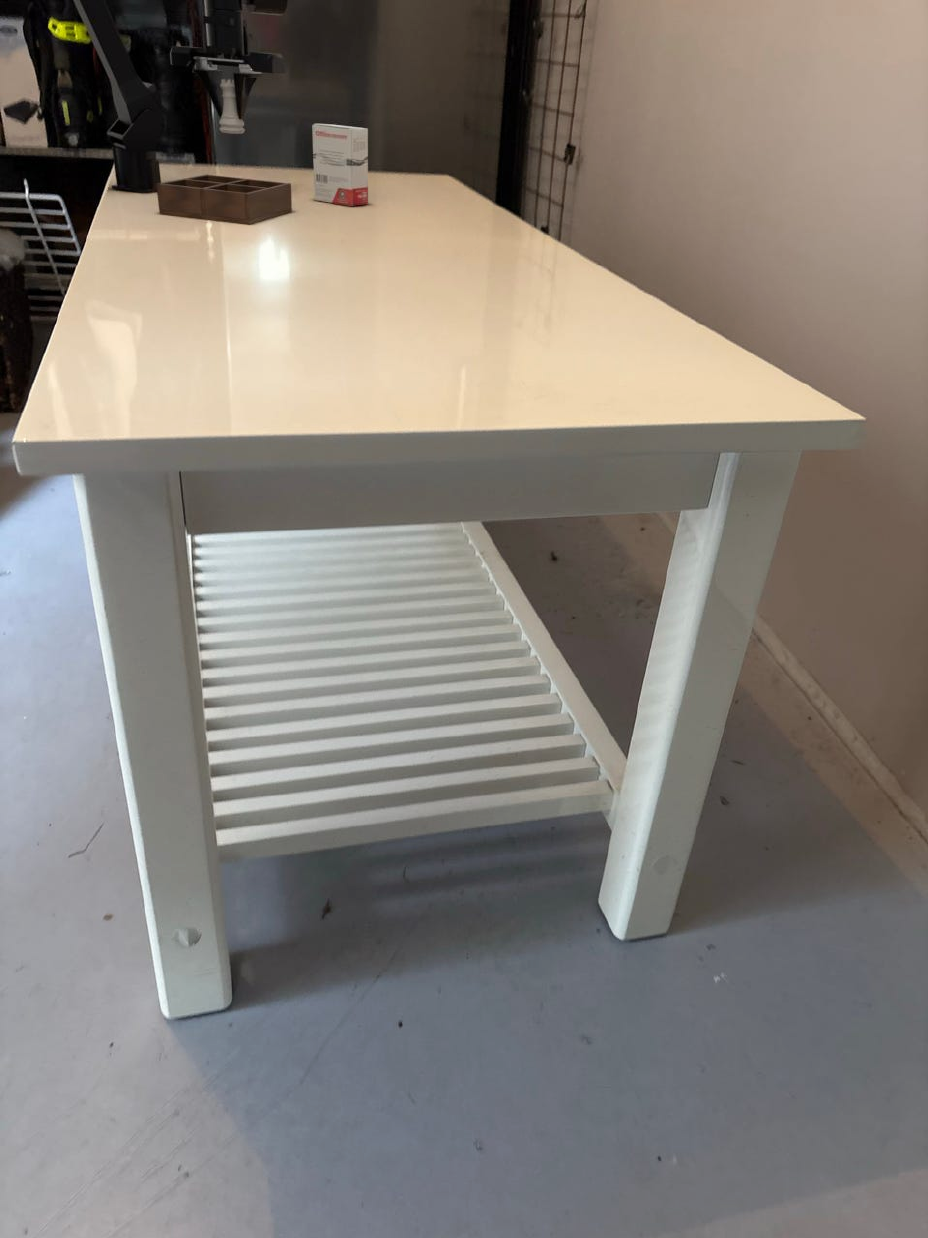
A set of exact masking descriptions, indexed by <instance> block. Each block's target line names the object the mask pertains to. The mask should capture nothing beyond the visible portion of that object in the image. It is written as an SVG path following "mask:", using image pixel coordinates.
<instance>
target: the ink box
mask: <svg viewBox="0 0 928 1238" xmlns="http://www.w3.org/2000/svg"><path fill="white" fill-rule="evenodd" d="M311 129H312V131H311V132H312V154H313V155H312V160H313V189H314V194H313V195H314V201H315V202H316V201H317V202H323V203H329V204H335V205H341V206H347V207H353V206H361V205H362V206H363V205H368V204H369V128H367V127H365V128H364V127H358V126H349V125H342V124H341V125H339V124H329V123H313V124H312V125H311Z"/></svg>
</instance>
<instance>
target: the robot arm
mask: <svg viewBox="0 0 928 1238" xmlns="http://www.w3.org/2000/svg"><path fill="white" fill-rule="evenodd" d="M288 1H289V0H205V3H206V4H205V6H206V15H204V16H202V17H203V24H207V32H208V33H207V34H208V45H205V48H204V47H195V46H182V45H181V46H180V45H173V46H172V47H171V50H170V52H169V59H170V65H171V66H179V67H180V66H181V67H189V66H192V67H194V68H192V73H193V74H197V75H198V77H199V79H200V81H201V83H202V85H203V86H204V88H205V90H206V92H207V93H208V96H209V98H210V100H211V102H212V105H213V106H214V109H215V112H216V113H217V115H218V117H219V118H222V117H221V116H222V114H223V97H222V95H223V90H222V89H221V87H220V84H221V83H222V80H221V79H223V76H224V72H225V71H224V70H223V69H218V66H223V67H237V68H238V69H239V72H232V73H233V74H232V75H233V80H234V86H235V95H236V105H237V112H238V117H239V119H242V120H244V119H245V116H246V115H245V114H246V111H247V107H248V104H249V100H250V96H251V91H252V90H253V87H254V85H255V83H256V82H257V81H258V79H259V78H264V74H286V61H285V59H284V56H283V55H282V54H281V53H273V52H261V51H260V50H261V42H260V41H259V40H258V39H257V38H256V37H255V36H254V34H252V33H250V32H249V30H248V22H247V19H246V18H245V19H243V17H244V16H243V6H245V8H246V11H247V12H249V13H251V14H262V15H272V16H273V15H274V16H283V15H284V14H285V13H286V11H287V8H288ZM73 3H74V5H75V7H76V9H77V12H78V14H79V16H80V18H81V20H82V23H83V24H84V26H85V29H86V31H87V33H88V35H89V38H90V40H91V41H92V43H93V45H94V49H95V51H96V52H97V55H98V57H99V59H100V61H101V63H102V66H103V68H104V69H105V72H106V74H107V76H108V78H109V82H110V86H111V93H112V97H113V99H112V100H113V104H114V108H115V110H116V114H117V116H118V118H117V119H116V120H115V121H114V123H113V124H112V125H111V127H110V128H108V130H107V131H106V135H107V137H108V140H109V142H110V143H111V146H112V147H111V150H112V151H111V152H112V156H113V157H112V159H113V165H114V174H115V181H116V184H112V185H111V189H112V190H122V191H132V192H140V193H148V192H154V191H157V186H156V184H158V183H162V179H161V168H160V161H159V159H157V147H158V143H159V139H160V138H161V137H162V135H163V134H164V133H165V130H166V127H167V119H166V114H165V113H167V112H168V110H167V108H166V107H165V106H164V105H163V103H162V102H161V99H160V96H159V95H160V94H159V91H158V89H157V87H156V85H155V84H154V83H149V82H144V81H143V80H142V79H141V78H140V76H139V75H138V73H137V72H136V69H135V67H134V65H133V62H132V60H131V58H130V55H129V53H128V51H127V49H126V46H125V44H124V42H123V40H122V37H121V35H120V33H119V30H118V28H117V26H116V24H115V22H114V20H113V16H112V15H111V12H110V10H109V8H108V5H107V3H106V1H105V0H73ZM222 55H223V57H219V56H222Z"/></svg>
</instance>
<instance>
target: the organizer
mask: <svg viewBox="0 0 928 1238" xmlns="http://www.w3.org/2000/svg"><path fill="white" fill-rule="evenodd" d="M156 186H157V190H156V195H157V204H158V213H159V215H166V216H167V215H169V216H176V217H183V218H194V219H200V220H201V219H202V220H208V221H218V222H219V221H220V222H226V223H227V222H228V223H236V224H244V225H252V224H255V223H258V222H261V221H265V220H269V219H272V218H275V217H279V216H282V215H285V214H288V213H291V212H293V208H292V207H293V203H292V202H293V201H292V183H290V182H280V181H270V180H261V179H252V178H243V177H235V176H224V175H213V174H201V175H196V176H190V177H185V178H179V179H174V180H169V181H164V182H161V183H158V184H156Z"/></svg>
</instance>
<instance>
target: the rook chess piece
mask: <svg viewBox="0 0 928 1238" xmlns="http://www.w3.org/2000/svg"><path fill="white" fill-rule="evenodd" d="M221 80H222V83H221V84H220V87H221V89H222V93H223V95H222V97H223V114H222V116H221V117H220V119H219V125H220V127H219V129H218V130H219V132H221V133H223V134H230V135H231V134H233V135H239V134H240V135H241V134H244V133H245V131H246V130H245V128H244V126H245V121H244V119H239V117H238V112H237V105H236V95H235V86H234V79H228V78H227V79H226V78H222V79H221Z"/></svg>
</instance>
